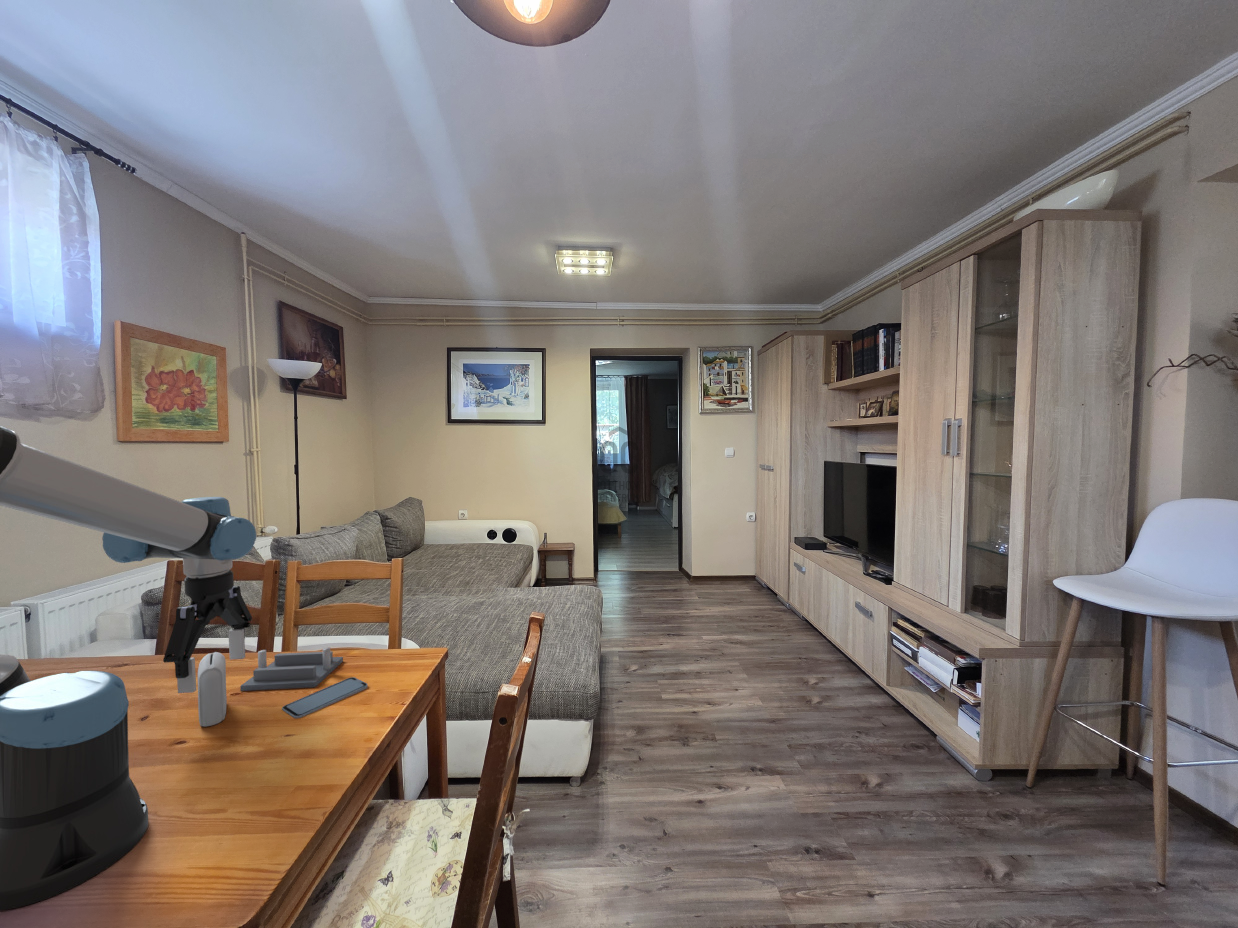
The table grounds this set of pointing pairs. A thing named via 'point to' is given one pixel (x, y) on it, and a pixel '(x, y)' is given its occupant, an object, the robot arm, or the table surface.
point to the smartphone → (324, 697)
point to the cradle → (292, 670)
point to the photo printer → (212, 689)
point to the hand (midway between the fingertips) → (214, 674)
